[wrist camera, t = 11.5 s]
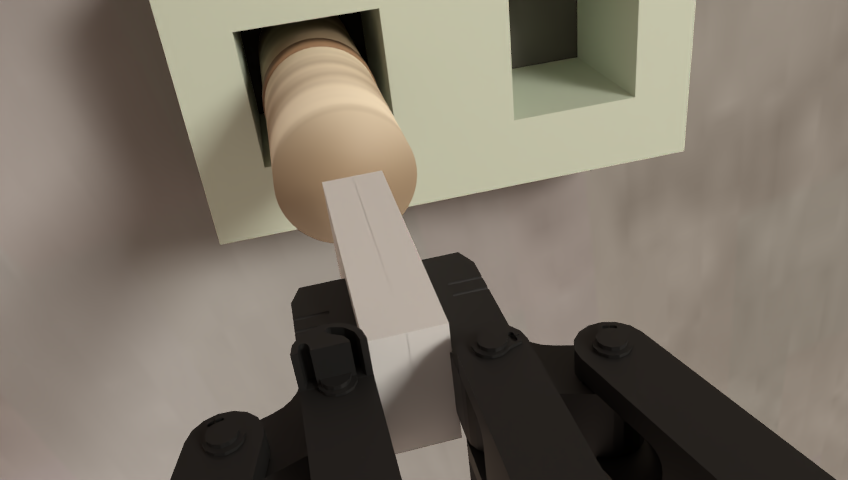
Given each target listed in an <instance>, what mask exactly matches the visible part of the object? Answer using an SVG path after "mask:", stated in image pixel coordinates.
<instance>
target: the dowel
mask: <svg viewBox="0 0 848 480" xmlns="http://www.w3.org/2000/svg"><path fill="white" fill-rule="evenodd" d="M258 52H259V61H260V70H261V78H262V100H263V108H264V114H265V117H266V122H267V131H268V140H269V149H270V158H271V167H272V175H273V184H274V191H275V196H276V199H277V202H278V205H279V207H280V209H281V211H282V212H283V214H284V215H285V217H286V218H287V219H288V220H289V222H290V223H291V224H292V225H293V226H295V227H296V228H297V229H298V230H299V231H301V232H303V233H304V234H306V235H308V236H310V237H312V238H314V239H317V240H320V241H323V242H328V243H334V241H333V236H332V231H331V226H330V221H329V215H328V210H327V205H326V200H325V195H324V190H323V185H322V182H326V181H331V180H336V179H341V178H346V177H351V176H356V175H361V174H366V173H372V172H377V171H382V172H383V174H384V176H385V178H386V181H387V183H388V185H389V188H390V190H391V192H392V194H393V197H394V199H395V201H396V204H397V206H398V208H399V210H400V213H401V215H403V214H404V212H405V211H406V209H407V208H408V206H409V204H410V202H411V200H412V198H413V195H414V192H415V188H416V183H417V166H416V161H415V157H414V154H413V152H412V149H411V148H410V146H409V144H408V142H407V140H406V138H405V136H404V135H403V133H402V131H401V129H400V127H399V125H398V124H397V122H396V120H395V118H394V116H393V114H392V112H391V111H390V109H389V107H388V105H387V103H386V101H385V100H384V98H383V96H382V94H381V92H380V90H379V89H378V87H377V84H376V81H375V78H374V76H373V75H372V73H371V71H370V69H369V67H368V65H367V64H366V62H365V61H364V60H363V58H362V57H361V55H360V54H359V52H358V50H357V48H356V46H355V44H354V43H353V41H352V39H351V37H350V35H349V33H348V32H347V30H346V28H345V26H344V24H343V23H342V21H341V20H340V19H339V18H338V17H337V16H336V15H335V16H329V17H322V18H316V19H310V20H304V21H298V22H292V23H286V24H280V25H274V26H268V27H263V28H262V30H261V33H260V37H259V43H258Z"/></svg>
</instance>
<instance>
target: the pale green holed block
mask: <svg viewBox="0 0 848 480" xmlns="http://www.w3.org/2000/svg"><path fill="white" fill-rule="evenodd" d="M149 1H150V5H151V8H152V12H153V15H154V19H155V22H156V26H157V29H158V32H159V36H160V39H161V43H162V46H163V50H164V53H165V57H166V60H167V63H168V67H169V70H170V74H171V77H172V81H173V84H174V88H175V91H176V95H177V98H178V101H179V105H180V108H181V112H182V115H183V119H184V122H185V126H186V129H187V133H188V136H189V139H190V143H191V146H192V150H193V153H194V157H195V160H196V164H197V167H198V170H199V174H200V177H201V181H202V184H203V188H204V191H205V195H206V198H207V202H208V205H209V208H210V212H211V215H212V219H213V222H214V226H215V229H216V233H217V236H218V240H219V243H220V245H223V244H227V243H232V242H237V241H242V240H247V239H252V238H257V237H262V236H267V235H272V234H277V233H282V232H287V231H292V230H297V228H296V227H295V226H293V225H292V224H291V223H290V222H289V220H288V219H287V218H286V217H285V215H284V214H283V212H282V211H281V209H280V207H279V205H278V202H277V199H276V196H275V191H274V184H273V175H272V167H271V158H270V149H269V140H268V131H267V122H266V117H265V114H259V111H258V106H257V102H256V98H255V93H254V89H253V85H252V81H251V76H250V72H249V68H248V63H247V59H246V55H245V51H244V46H243V42H242V38H241V33H240V31H243V30H249V29H255V28H262V27H268V26H274V25H280V24H286V23H292V22H298V21H304V20H310V19H316V18H322V17H329V16H335V15H341V14H347V13H353V12H359V11H360V13H361V20H362V27H363V33H364V40H365V47H366V54H367V60H368V67H369V69H370V71H371V73H372V75H373V76H374V78H375V81H376V84H377V87H378V89H379V90H380V92H381V94H382V96H383V98H384V100H385V101H386V103H387V105H388V107H389V109H390V111H391V112H392V114H393V116H394V118H395V120H396V122H397V124H398V125H399V127H400V129H401V131H402V133H403V135H404V136H405V138H406V140H407V142H408V144H409V146H410V148H411V149H412V152H413V154H414V157H415V161H416V166H417V183H416V188H415V192H414V195H413V198H412V200H411V202H410V204H409V206H408V207H410V206H415V205H420V204H425V203H430V202H435V201H440V200H445V199H450V198H455V197H460V196H465V195H469V194H474V193H479V192H484V191H489V190H494V189H499V188H504V187H509V186H514V185H519V184H524V183H529V182H534V181H539V180H544V179H548V178H553V177H558V176H563V175H568V174H573V173H578V172H583V171H588V170H593V169H598V168H603V167H608V166H613V165H618V164H623V163H627V162H632V161H637V160H642V159H647V158H652V157H657V156H662V155H667V154H672V153H677V152H682V151H684V145H685V133H686V120H687V107H688V95H689V82H690V69H691V57H692V44H693V31H694V18H695V6H696V0H577V57H576V58H570V59H564V60H559V61H553V62H548V63H542V64H537V65H531V66H526V67H520V68H514V69H512V64H511V42H510V21H509V0H149Z"/></svg>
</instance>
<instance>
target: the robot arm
mask: <svg viewBox="0 0 848 480" xmlns="http://www.w3.org/2000/svg"><path fill="white" fill-rule="evenodd" d="M322 185H323V190H324V195H325V200H326V205H327V210H328V215H329V221H330V226H331V231H332V236H333V241H334V246H335V251H336V256H337V261H338V266H339V271H340V276H341V279H339V280H334V281H330V282H325V283H320V284H316V285H311V286H306V287H302V288H299V289H298V291H297V293H296V295H295V297H294V299H293V301H292V303H291V306H292V314H293V320H294V329H295V337H296V341H295V342H294V344H293V345H292V348H291V354H290V356H291V360H292V364H293V368H294V372H295V376H296V380H297V384H298V388H299V389H298V392H297V393H296V395H295V396H294V397H293V399H292V400H291V401H290V402H289V403H288V404H287V405H285V406H284V407H283V408H282V409H280V410H278V411H276V412H275V413H273V414H271V415H269V416H267V417H265V418H263V419H261V420H259V418H258V417H256V416H254V415H252V414H250V413H248V412H239V411H231V412H226V413H221V414H217V415H215V416H213V417H211V418H209V419H207V420H205V421H203V422H202V423H201V424H200V425H198V426H197V427H196V428H195V429H194V430H192V432H191V433H190V435H189V436H188V438H187V440H186V441H185V443H184V446H183V448H182V451H181V453H180V456H179V459H178V461H177V464H176V466H175V469H174V472H173V474H172V477H171V479H170V480H402V479H401V475H400V471H399V467H398V464H397V460H396V456H395V454H398V453H402V452H406V451H410V450H414V449H418V448H422V447H426V446H430V445H434V444H438V443H442V442H446V441H450V440H454V439H458V438H462V435H461V426H460V422H461V425H462V427H463V430H464V432H465V435H466V438H467V447H468V456H469V465H470V475H471V480H836V479H835V478H833V477H832V476H831V475H829V474H828V473H827V472H825V471H824V470H823V469H821V468H820V467H819V466H818V465H816V464H815V463H814V462H812V461H811V460H810V459H808V458H807V457H806V456H804V455H803V454H802V453H800V452H799V451H798V450H796V449H795V448H794V447H793V446H791V445H790V444H789V443H787V442H786V441H785V440H783V439H782V438H781V437H779V436H778V435H777V434H775V433H774V432H773V431H772V430H770V429H769V428H768V427H766V426H765V425H764V424H762V423H761V422H760V421H758V420H757V419H756V418H754V417H753V416H752V415H751V414H749V413H748V412H747V411H745V410H744V409H743V408H741V407H740V406H739V405H737V404H736V403H735V402H733V401H732V400H731V399H730V398H728V397H727V396H726V395H724V394H723V393H722V392H720V391H719V390H718V389H716V388H715V387H714V386H712V385H711V384H710V383H708V382H707V381H706V380H705V379H703V378H702V377H701V376H699V375H698V374H697V373H695V372H694V371H693V370H691V369H690V368H689V367H687V366H686V365H685V364H684V363H682V362H681V361H680V360H678V359H677V358H676V357H674V356H673V355H672V354H670V353H669V352H668V351H666V350H665V349H664V348H663V347H661V346H660V345H659V344H657V343H656V342H655V341H653V340H652V339H651V338H649V337H648V336H647V335H645V334H644V333H643V332H641V331H640V330H638V329H636V328H634V327H632V326H630V325H626V324H622V323H617V322H601V323H597V324H593V325H589V326H587V327H586V328H584V329H583V330H581V331H580V332H579V333H578V334H577V336H576V338H575V339H574V345H565V346H552V345H540V344H536V343H532V342H529V340H528V338H527V337H526V336H525V335H524V334H523V333H522V332H521V331H520V330H518V329H516V328H513V327H511V326H509V325H508V323H507V321H506V319H505V318H504V316H503V314H502V312H501V310H500V309H499V307H498V305H497V303H496V301H495V300H494V298H493V296H492V294H491V292H490V291H489V289H488V288H487V285H486V283H485V281H484V280H483V278H482V277H481V274H480V272H479V271H478V269H477V267H476V265H475V263H474V262H473V261H471V260H470V259H468V258H466V257H465V256H463V255H462V254H460V253H458V252H457V253H452V254H448V255H443V256H438V257H434V258H429V259H424V260H421V258H420V256H419V254H418V251H417V249H416V247H415V245H414V242H413V240H412V238H411V235H410V233H409V231H408V229H407V226H406V224H405V222H404V220H403V217H402V215H401V213H400V210H399V208H398V206H397V204H396V201H395V199H394V197H393V194H392V192H391V190H390V188H389V185H388V183H387V181H386V178H385V176H384V174H383V172H382V171H377V172H372V173H366V174H361V175H356V176H351V177H346V178H341V179H336V180H331V181H326V182H322Z"/></svg>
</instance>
